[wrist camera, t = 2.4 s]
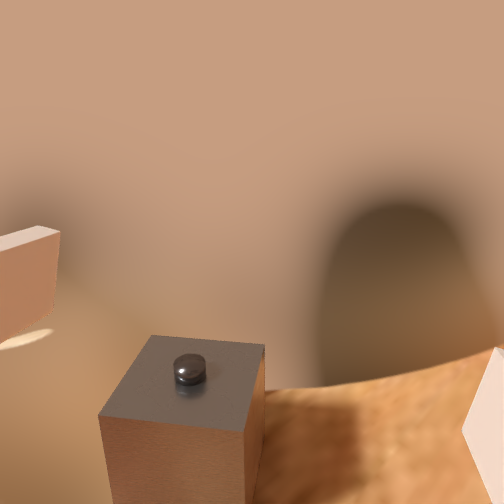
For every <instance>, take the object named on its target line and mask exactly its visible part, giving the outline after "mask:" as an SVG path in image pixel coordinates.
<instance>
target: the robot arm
mask: <svg viewBox="0 0 504 504" xmlns="http://www.w3.org/2000/svg"><path fill="white" fill-rule="evenodd" d="M60 234H61V231H57V230H54V229H50V228H46V227H42V226H35V227H31V228H28V229H25V230H21V231H18V232H14V233H11V234H8V235H4V236H0V344H1V343H2V342H4V341H6V340H7V339H9V338H11V337H12V336H14V335H15V334H17V333H19V332H20V331H22V330H24V329H25V328H27V327H29V326H30V325H32V324H34V323H35V322H37V321H38V320H40V319H42V318H43V317H45V316H47V315H48V314H50V313H51V312H53V306H54V295H55V285H56V275H57V265H58V253H59V244H60ZM462 433H463V435H464V438H465V440H466V442H467V445H468V447H469V449H470V452H471V454H472V456H473V459H474V461H475V464H476V466H477V468H478V471H479V473H480V475H481V478H482V480H483V483H484V485H485V487H486V490H487V492H488V494H489V497H490V499H491V501H492V504H504V349H500V348H497V347H495V348H494V351H493V353H492V356H491V358H490V361H489V363H488V366H487V368H486V370H485V373H484V375H483V378H482V380H481V383H480V385H479V388H478V390H477V393H476V395H475V398H474V400H473V403H472V405H471V408H470V410H469V413H468V415H467V418H466V420H465V423H464V425H463V428H462Z"/></svg>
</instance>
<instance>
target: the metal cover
mask: <svg viewBox="0 0 504 504" xmlns="http://www.w3.org/2000/svg"><path fill="white" fill-rule="evenodd" d="M264 351H265V345H263V344H252V343H240V342H228V341H216V340H205V339H192V338H181V337H169V336H157V335H151V337H150V338H149V340H148V341H147V343H146V344H145V346H144V347H143V349H142V350H141V352H140V353H139V355H138V356H137V358H136V359H135V361H134V362H133V364H132V365H131V367H130V368H129V370H128V371H127V373H126V374H125V376H124V377H123V379H122V380H121V382H120V383H119V385H118V386H117V387H116V389H115V391H114V392H113V393H112V395H111V397H110V398H109V399H108V401H107V403H106V404H105V406H104V407H103V408H102V410H101V412H100V413H99V414H98V418H99V424H100V430H101V436H102V441H103V447H104V453H105V458H106V464H107V470H108V476H109V481H110V487H111V492H112V498H113V504H252V502H253V496H254V491H255V485H256V480H257V474H258V469H259V463H260V458H261V453H262V447H263V442H264V436H265V387H264V386H265V375H264V374H265V368H264V367H265V358H264V357H265V352H264Z"/></svg>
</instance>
